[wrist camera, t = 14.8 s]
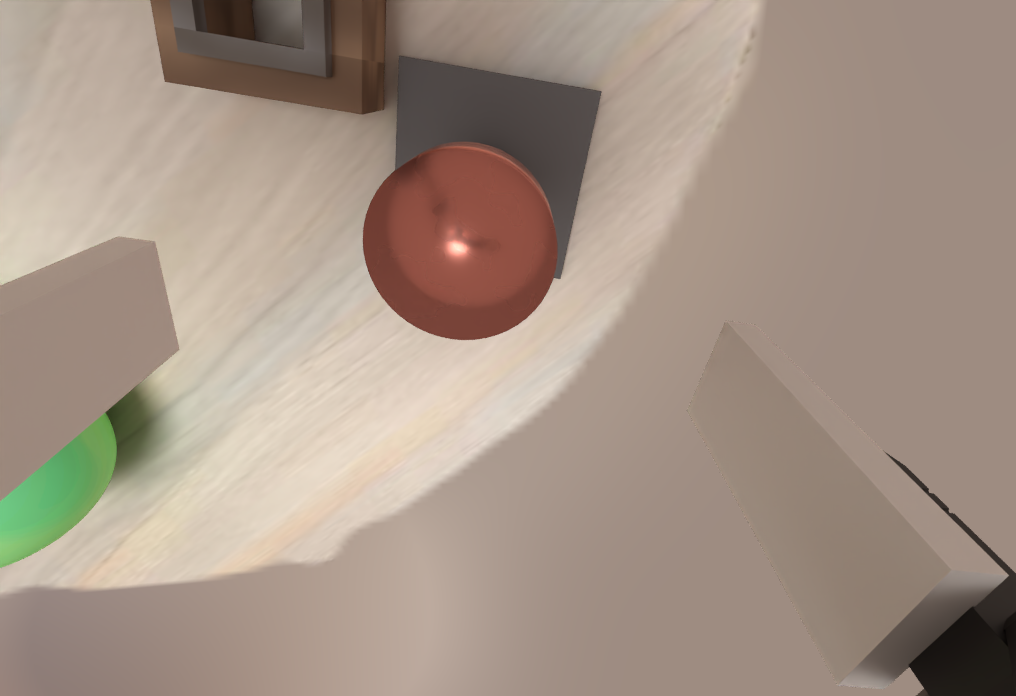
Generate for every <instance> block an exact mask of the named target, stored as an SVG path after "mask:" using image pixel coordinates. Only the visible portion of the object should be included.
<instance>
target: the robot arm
mask: <svg viewBox="0 0 1016 696" xmlns="http://www.w3.org/2000/svg"><path fill="white" fill-rule="evenodd" d="M178 350H179V345H178V341H177V337H176V332H175V328H174V323H173V319H172V314H171V310H170V306H169V301H168V297H167V292H166V288H165V284H164V279H163V275H162V270H161V266H160V261H159V257H158V253H157V248H156V244H155V242H154V241H147V240H140V239H132V238H125V237H116V238H113V239H111V240H108V241H106V242H104V243H101V244H99V245H97V246H94V247H92V248H89V249H87V250H85V251H82V252H80V253H77V254H75V255H73V256H70V257H68V258H66V259H63V260H61V261H58V262H56V263H54V264H51V265H49V266H46V267H44V268H42V269H39V270H37V271H35V272H32V273H30V274H27V275H25V276H23V277H20V278H18V279H15V280H13V281H11V282H8V283H6V284H4V285H1V286H0V501H1V500H2V499H4V498H5V497H6V496H7V495H8V494H9V493H11V492H12V491H13V490H14V489H15V488H17V487H18V486H19V485H20V484H21V483H22V482H24V481H25V480H26V479H27V478H28V477H30V476H31V475H32V474H33V473H34V472H35V471H37V470H38V469H39V468H40V467H41V466H42V465H44V464H45V463H46V462H47V461H48V460H50V459H51V458H52V457H53V456H54V455H55V454H57V453H58V452H59V451H60V450H61V449H63V448H64V447H65V446H66V445H67V444H68V443H70V442H71V441H72V440H73V439H74V438H76V437H77V436H78V435H79V434H80V433H81V432H83V431H84V430H85V429H86V428H87V427H88V426H90V425H91V424H92V423H93V422H94V421H96V420H97V419H98V418H99V417H100V416H101V415H103V414H104V413H105V412H106V411H107V410H109V409H110V408H111V407H112V406H113V405H114V404H116V403H117V402H118V401H119V400H120V399H122V398H123V397H124V396H125V395H126V394H127V393H129V392H130V391H131V390H132V389H133V388H135V387H136V386H137V385H138V384H139V383H140V382H142V381H143V380H144V379H145V378H146V377H147V376H149V375H150V374H151V373H152V372H153V371H155V370H156V369H157V368H158V367H159V366H160V365H162V364H163V363H164V362H165V361H166V360H168V359H169V358H170V357H171V356H172V355H173V354H175V353H176V352H177V351H178ZM687 412H688V413H689V415H690V417H691V419H692V421H693V422H694V424H695V426H696V428H697V430H698V432H699V434H700V435H701V437H702V439H703V441H704V443H705V444H706V446H707V448H708V450H709V452H710V454H711V455H712V457H713V459H714V461H715V463H716V465H717V466H718V468H719V470H720V472H721V474H722V476H723V477H724V479H725V481H726V483H727V485H728V486H729V488H730V490H731V492H732V494H733V496H734V497H735V499H736V501H737V503H738V505H739V507H740V508H741V510H742V512H743V514H744V516H745V518H746V519H747V521H748V523H749V525H750V527H751V529H752V530H753V532H754V534H755V536H756V537H757V539H758V541H759V543H760V545H761V547H762V549H763V551H764V552H765V554H766V556H767V558H768V560H769V561H770V563H771V565H772V567H773V569H774V571H775V572H776V574H777V576H778V578H779V580H780V582H781V583H782V585H783V587H784V589H785V591H786V593H787V594H788V596H789V598H790V600H791V602H792V603H793V605H794V607H795V609H796V611H797V612H798V614H799V616H800V618H801V620H802V622H803V624H804V625H805V627H806V629H807V631H808V633H809V635H810V636H811V638H812V640H813V642H814V644H815V646H816V647H817V649H818V651H819V653H820V655H821V657H822V658H823V660H824V662H825V664H826V666H827V667H828V669H829V671H830V673H831V675H832V677H833V678H834V680H835V682H836V684H837V685H838V686H850V687H864V688H879V689H885V688H886V687H887V686H889V685H890V684H891V683H892V682H893V681H894V680H895V679H896V678H897V677H899V675H901V674H902V673H903V672H904V671H905V670H906V669H907V668H908V667H910V668H911V670H912V671H913V673H914V674H915V675H916V677H917V678H918V680H919V681H920V683H921V684H922V686H923V687H924V689H923V690H922V691H921V692H920V693H919V694H918V695H916V696H1016V573H1015V572H1014V571H1013V570H1012V569H1010V567H1008V565H1007V564H1005V563H1004V562H1003V561H1002V560H1001V559H1000V558H999V557H998V556H997V555H996V554H995V553H994V552H993V551H992V550H991V549H990V548H989V547H988V546H987V545H986V544H985V543H984V542H983V541H982V540H981V539H980V538H979V537H978V536H977V535H976V534H974V532H973V531H972V530H971V529H970V528H969V527H967V526H966V525H965V524H964V523H963V522H962V521H961V520H960V519H959V518H958V517H957V516H956V515H955V514H953V513H949V511H948V510H949V508H948V507H947V506H946V505H945V504H944V503H943V502H942V501H941V500H940V499H939V498H938V497H937V496H935V494H932V493H929V491H928V490H929V489H928V488H927V487H926V486H925V485H924V484H923V483H922V482H921V481H920V480H919V479H918V478H917V477H916V476H915V475H914V474H913V473H912V472H911V471H910V470H909V469H908V468H907V467H906V466H905V465H903V464H901V463H900V462H899V461H897V460H896V459H894V458H893V457H891V456H890V455H889V454H887V453H886V452H884V451H883V450H882V449H881V448H880V447H879V446H878V445H877V444H876V443H875V442H873V440H872V439H871V438H870V437H869V436H868V435H867V434H866V433H865V432H864V431H862V430H861V429H860V428H859V427H858V426H857V425H856V424H855V423H854V422H853V421H852V420H851V419H850V418H849V417H848V416H847V415H846V414H845V413H844V412H843V411H842V410H841V409H840V408H839V407H838V406H837V405H836V404H835V403H834V402H833V401H832V400H831V399H830V398H829V397H828V396H827V395H826V394H825V393H824V392H823V391H822V390H821V389H820V388H819V387H818V386H817V385H816V384H815V383H814V382H813V381H812V380H811V379H810V378H809V377H808V376H807V375H806V374H805V373H804V372H803V371H802V370H801V369H800V368H799V367H798V366H797V365H796V364H795V363H794V362H793V361H792V360H791V359H790V358H789V357H788V356H787V355H786V354H785V353H784V352H783V351H782V350H781V349H780V348H779V347H778V346H777V345H776V344H775V343H773V341H772V340H771V339H770V338H768V336H767V335H765V333H763V332H762V331H761V330H760V329H759V328H758V327H757V326H756V325H755V324H747V323H740V322H733V321H725V323H724V326H723V328H722V330H721V332H720V335H719V337H718V340H717V342H716V344H715V347H714V349H713V351H712V353H711V356H710V358H709V360H708V363H707V365H706V368H705V370H704V372H703V374H702V377H701V379H700V381H699V384H698V386H697V389H696V391H695V393H694V395H693V398H692V400H691V402H690V405H689V407H688V409H687Z"/></svg>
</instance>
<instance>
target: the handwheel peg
mask: <svg viewBox="0 0 1016 696" xmlns="http://www.w3.org/2000/svg"><path fill="white" fill-rule="evenodd" d="M557 245H558V244H557V237H556V230H555V226H554V222H553V217H552V213H551V209H550V206H549V202H548V200H547V198H546V195H545V193H544V191H543V189H542V188H541V186H540V184H539V182H538V181H537V180H536V179H535V177H534V176H533V175H532V173H531V172H530V171H529V170H528V169H527V168H526V167H525V166H524V165H523V164H522V163H520V162H519V161H518V160H516V159H515V158H514V157H512V156H511V155H509V154H507V153H506V152H504V151H503V150H501V149H499V148H496V147H492V146H489V145H485V144H480V143H474V142H451V143H446V144H441V145H438V146H435V147H433V148H430V149H428V150H426V151H424V152H422V153H420V154H418V155H417V156H415V157H414V158H412V159H411V160H409V161H408V162H406V163H405V164H403V165H402V166H401V167H399V168H398V169H397V170H395V171H394V172H393V173H392V174H391V175H390V176H389V177H388V178H387V179H386V180H385V181H384V182H383V183H382V185H381V186H380V187H379V189H378V190H377V192H376V193H375V195H374V197H373V199H372V201H371V203H370V206H369V208H368V211H367V214H366V218H365V223H364V230H363V249H364V256H365V261H366V265H367V268H368V271H369V274H370V277H371V279H372V281H373V283H374V285H375V287H376V288H377V290H378V292H379V293H380V295H381V296H382V298H383V299H384V300H385V301H386V302H387V304H388V305H389V306H390V307H391V308H392V309H393V310H394V311H395V312H396V313H397V314H398V315H399V316H401V317H402V318H403V319H405V320H406V321H407V322H409V323H410V324H412V325H414V326H415V327H417V328H419V329H421V330H423V331H426V332H428V333H431V334H434V335H437V336H440V337H445V338H449V339H458V340H475V339H482V338H487V337H491V336H495V335H498V334H500V333H503V332H505V331H508V330H509V329H511V328H513V327H515V326H516V325H518V324H519V323H521V322H522V321H523V320H525V319H526V318H527V317H528V316H529V315H530V314H531V313H532V312H533V311H534V310H535V309H536V308H537V307H538V305H539V304H540V303H541V302H542V300H543V299H544V297H545V295H546V294H547V292H548V290H549V287H550V285H551V283H552V281H553V277H554V273H555V270H556V264H557Z"/></svg>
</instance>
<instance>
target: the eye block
mask: <svg viewBox="0 0 1016 696" xmlns="http://www.w3.org/2000/svg"><path fill="white" fill-rule="evenodd" d="M150 1H151V6H152V12H153V18H154V23H155V29H156V34H157V40H158V46H159V51H160V57H161V62H162V68H163V74H164V79H165V82H170V83H176V84H182V85H188V86H194V87H200V88H206V89H212V90H218V91H224V92H230V93H236V94H242V95H248V96H254V97H260V98H267V99H273V100H279V101H285V102H291V103H297V104H303V105H309V106H315V107H321V108H327V109H333V110H339V111H345V112H351V113H357V114H366V113H370V112H375V111H379V110H384V70H385V21H386V0H301V1H302V21H303V41H304V49H301V48H296V47H290V46H284V45H278V44H273V43H267V42H261V41H256V40H255V34H254V23H253V13H252V2H251V0H150Z"/></svg>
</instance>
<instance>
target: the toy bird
mask: <svg viewBox="0 0 1016 696" xmlns="http://www.w3.org/2000/svg"><path fill="white" fill-rule="evenodd" d="M116 455H117V446H116V438H115V434H114V430H113V427H112V425H111V422H110V420H109V418H108V416H107V414H106V413H104V414H103V415H101V416H100V417H99V418H98V419H97V420H96V421H94V422H93V423H92V424H91V425H90V426H88V427H87V428H86V429H85V430H84V431H83V432H81V433H80V434H79V435H78V436H77V437H76V438H74V439H73V440H72V441H71V442H70V443H68V444H67V445H66V446H65V447H64V448H63V449H61V450H60V451H59V452H58V453H57V454H55V455H54V456H53V457H52V458H51V459H50V460H48V461H47V462H46V463H45V464H44V465H42V466H41V467H40V468H39V469H38V470H37V471H35V472H34V473H33V474H32V475H31V476H30V477H28V478H27V479H26V480H25V481H24V482H22V483H21V484H20V485H19V486H18V487H17V488H15V489H14V490H13V491H12V492H11V493H9V494H8V495H7V496H6V497H5V498H4V499H2V500H1V501H0V568H1V567H4V566H7V565H9V564H12V563H14V562H17V561H19V560H21V559H24V558H26V557H28V556H30V555H32V554H34V553H36V552H38V551H39V550H41V549H43V548H45V547H46V546H48V545H49V544H51V543H53V542H54V541H56V540H57V539H59V538H60V537H61V536H63V535H64V534H65V533H67V532H68V531H69V530H70V529H72V528H73V527H74V526H75V525H76V524H77V523H79V522H80V521H81V520H82V519H83V518H84V517H85V516H86V515H87V514H88V513H89V511H90V510H91V509H92V508H93V507H94V506H95V504H96V503H97V502H98V500H99V499H100V498H101V496H102V495H103V493H104V491H105V490H106V488H107V486H108V484H109V482H110V479H111V477H112V474H113V471H114V467H115V463H116Z"/></svg>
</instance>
